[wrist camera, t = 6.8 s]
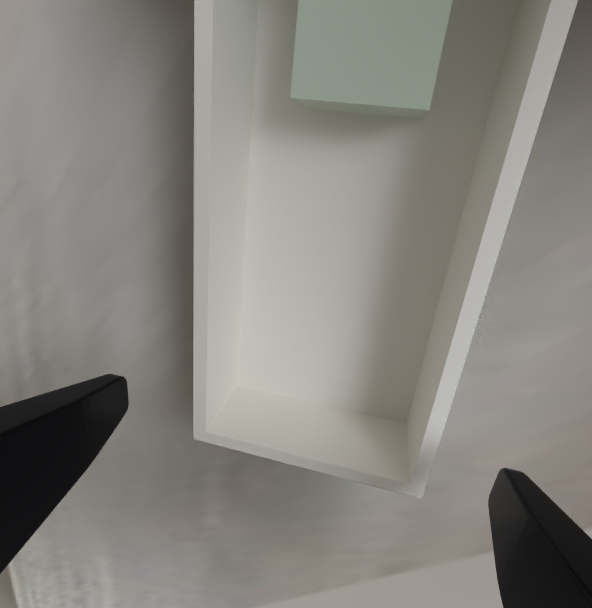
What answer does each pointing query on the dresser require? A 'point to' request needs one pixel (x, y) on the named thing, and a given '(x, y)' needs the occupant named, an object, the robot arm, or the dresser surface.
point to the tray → (352, 237)
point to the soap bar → (368, 55)
